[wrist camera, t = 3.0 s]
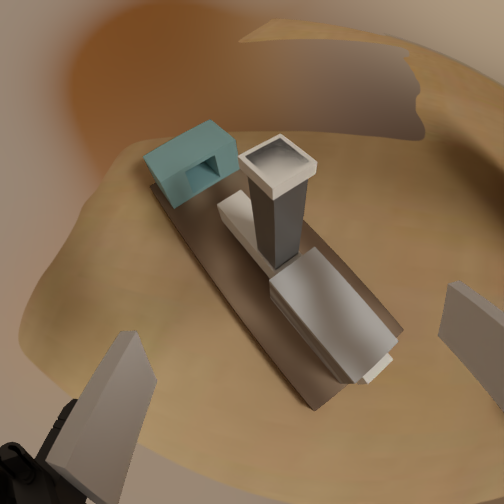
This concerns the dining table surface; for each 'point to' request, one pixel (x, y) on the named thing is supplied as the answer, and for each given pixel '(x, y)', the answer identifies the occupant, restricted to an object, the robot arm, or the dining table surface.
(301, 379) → the long brown base plank
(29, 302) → the dining table surface
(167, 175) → the socket
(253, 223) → the tube
